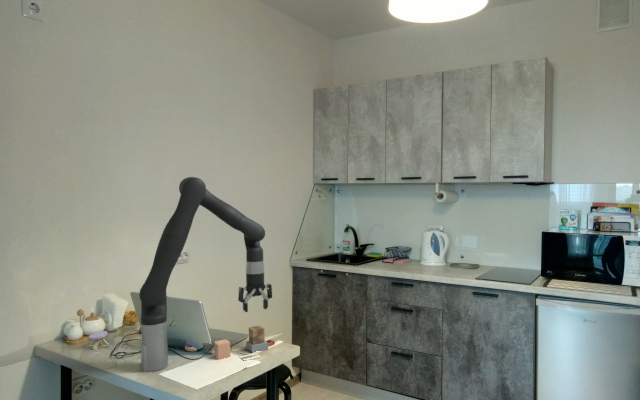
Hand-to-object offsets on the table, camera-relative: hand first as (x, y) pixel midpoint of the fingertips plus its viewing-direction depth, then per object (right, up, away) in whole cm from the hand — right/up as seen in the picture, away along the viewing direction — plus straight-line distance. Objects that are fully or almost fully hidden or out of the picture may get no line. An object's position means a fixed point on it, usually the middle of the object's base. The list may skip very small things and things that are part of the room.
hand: (255, 310), depth 188 cm
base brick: (+1, -16, 0) cm, 16 cm away
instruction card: (-1, -17, -9) cm, 19 cm away
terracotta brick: (-12, -17, -7) cm, 22 cm away
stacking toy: (-26, -17, +3) cm, 32 cm away
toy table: (-70, -19, +9) cm, 73 cm away
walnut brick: (0, -13, 0) cm, 13 cm away
